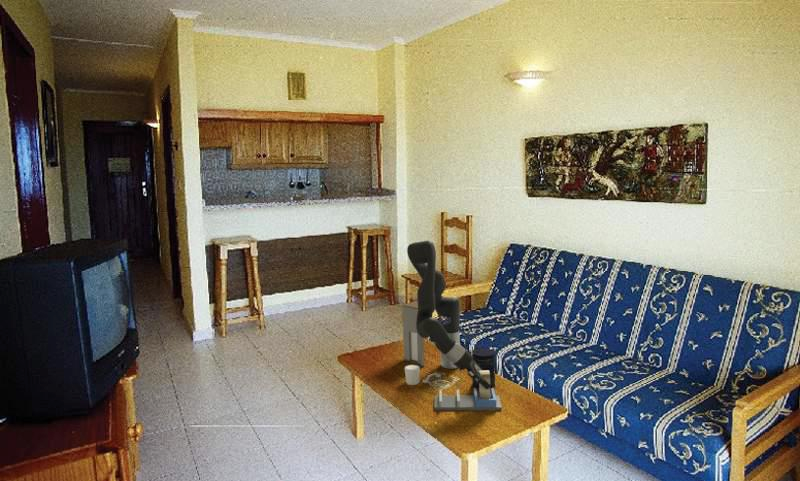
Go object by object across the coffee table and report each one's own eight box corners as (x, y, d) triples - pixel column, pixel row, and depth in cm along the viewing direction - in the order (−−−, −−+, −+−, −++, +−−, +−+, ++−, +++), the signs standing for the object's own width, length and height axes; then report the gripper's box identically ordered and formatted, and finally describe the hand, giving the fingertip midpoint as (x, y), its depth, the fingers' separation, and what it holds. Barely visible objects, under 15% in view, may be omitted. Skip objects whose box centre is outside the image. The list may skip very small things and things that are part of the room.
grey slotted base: (434, 398, 219) (434, 388, 218) (498, 398, 217) (498, 388, 216) (434, 410, 208) (434, 400, 208) (501, 410, 206) (501, 399, 205)
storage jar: (500, 386, 229) (499, 345, 226) (481, 391, 224) (481, 350, 222) (485, 378, 237) (484, 339, 235) (467, 383, 233) (466, 343, 230)
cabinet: (424, 366, 254) (422, 309, 251) (404, 367, 255) (402, 310, 251) (422, 351, 275) (421, 298, 271) (404, 352, 275) (402, 299, 272)
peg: (479, 399, 214) (478, 370, 212) (489, 399, 213) (489, 370, 212) (480, 403, 210) (479, 374, 208) (490, 403, 210) (489, 374, 208)
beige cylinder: (422, 380, 238) (421, 365, 237) (417, 386, 232) (417, 370, 231) (407, 378, 240) (407, 363, 240) (402, 384, 234) (402, 369, 233)
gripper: (465, 355, 202) (496, 384, 203) (464, 343, 217) (493, 370, 217) (452, 368, 204) (482, 397, 204) (451, 355, 218) (480, 382, 218)
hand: (488, 383), depth 211 cm, fingers open, 8 cm apart
